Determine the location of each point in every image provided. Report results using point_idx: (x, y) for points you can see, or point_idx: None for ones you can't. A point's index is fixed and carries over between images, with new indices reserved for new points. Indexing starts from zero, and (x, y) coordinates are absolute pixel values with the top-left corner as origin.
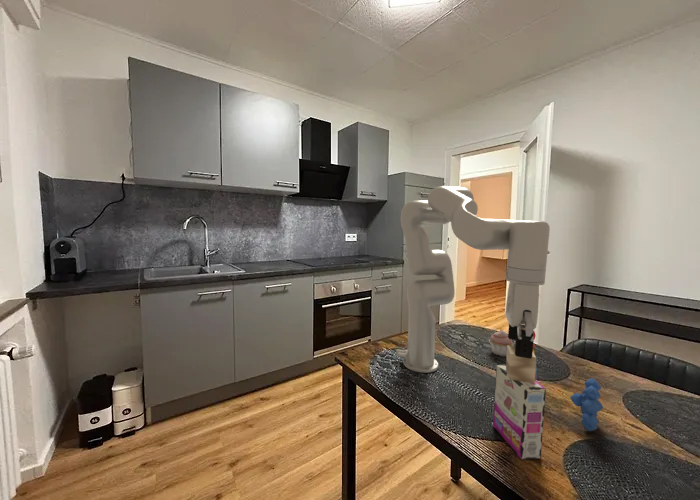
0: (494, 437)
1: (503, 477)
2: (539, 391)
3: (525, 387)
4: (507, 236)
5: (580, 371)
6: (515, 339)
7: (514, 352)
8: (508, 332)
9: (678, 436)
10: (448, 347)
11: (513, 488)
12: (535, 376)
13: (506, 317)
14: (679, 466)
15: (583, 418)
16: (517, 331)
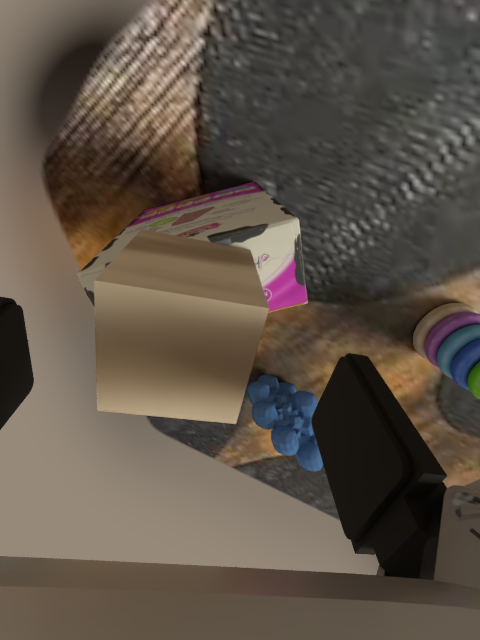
0: (210, 169)
1: (70, 142)
2: None
3: (85, 276)
4: None
5: (460, 448)
6: (326, 390)
7: (131, 315)
8: (379, 385)
9: (269, 473)
10: None
11: (45, 156)
12: (435, 363)
13: (341, 612)
14: (203, 442)
15: (260, 384)
16: (343, 454)
